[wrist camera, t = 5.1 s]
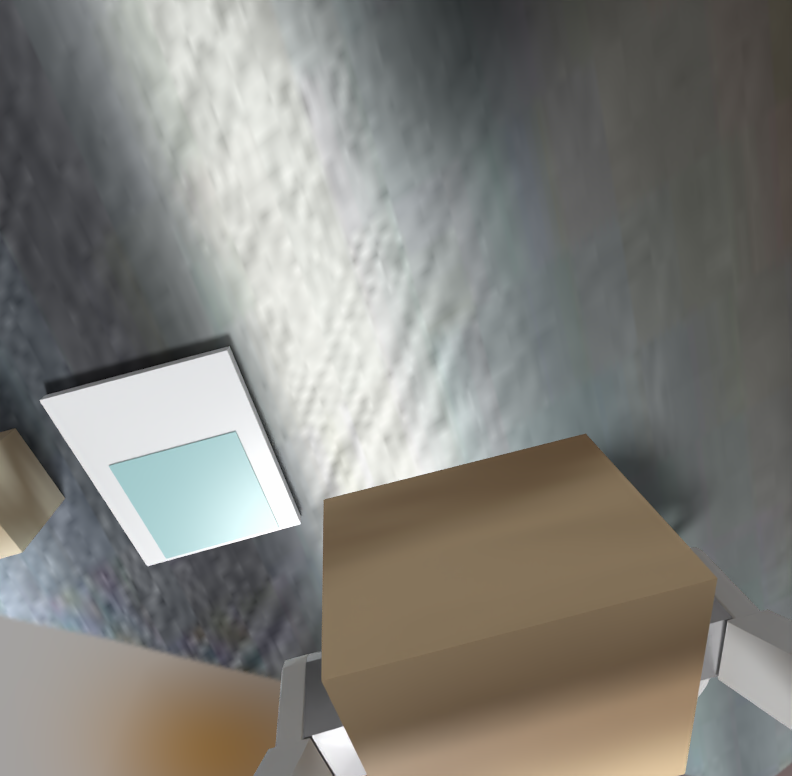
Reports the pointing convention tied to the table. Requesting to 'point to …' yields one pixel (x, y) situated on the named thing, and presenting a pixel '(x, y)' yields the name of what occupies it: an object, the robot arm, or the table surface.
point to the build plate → (177, 455)
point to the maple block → (23, 494)
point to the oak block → (513, 621)
